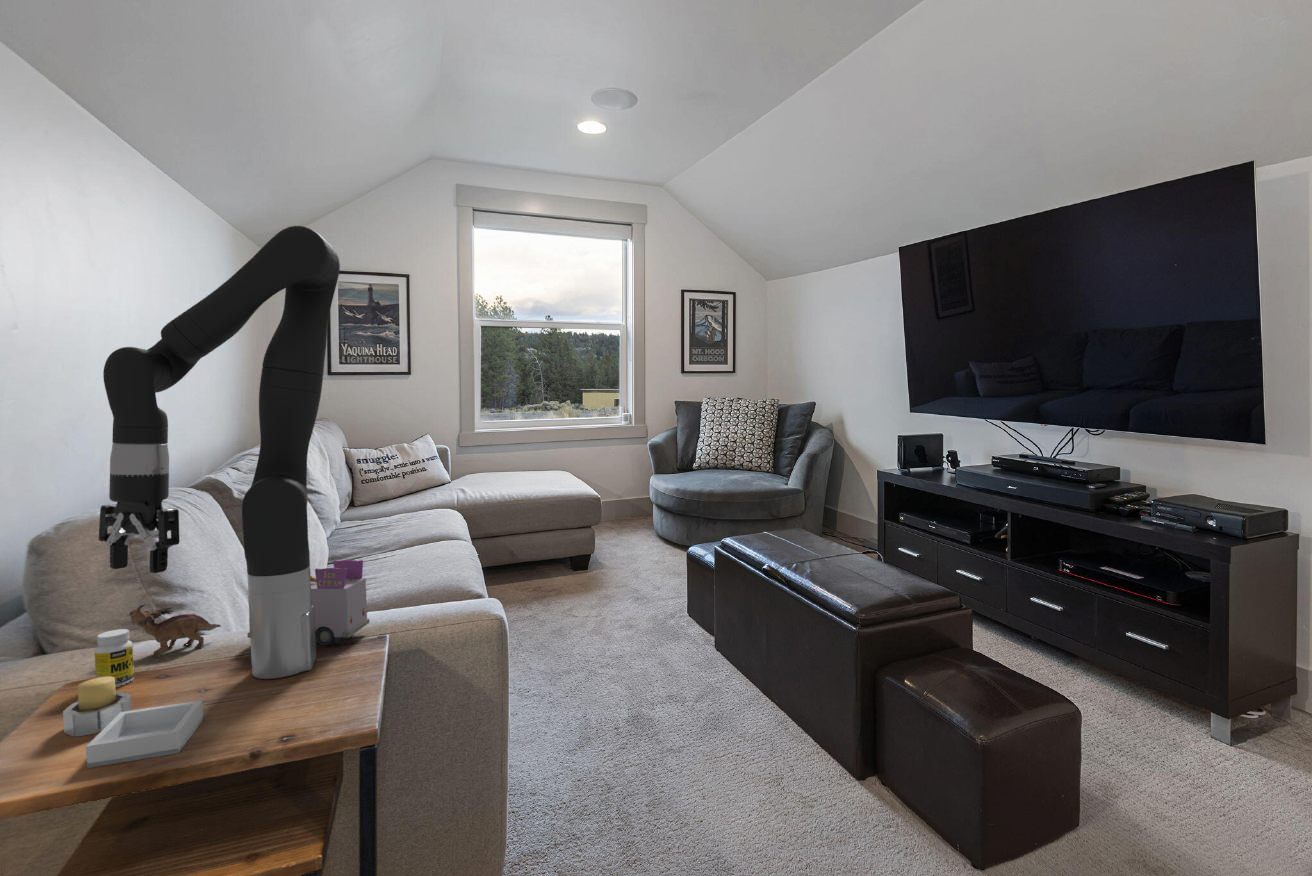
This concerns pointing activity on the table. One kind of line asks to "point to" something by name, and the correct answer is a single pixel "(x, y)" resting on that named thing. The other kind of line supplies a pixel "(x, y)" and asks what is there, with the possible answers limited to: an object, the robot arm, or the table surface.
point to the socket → (94, 716)
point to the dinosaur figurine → (171, 627)
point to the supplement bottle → (115, 656)
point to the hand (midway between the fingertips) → (138, 570)
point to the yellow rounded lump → (96, 693)
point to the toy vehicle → (338, 601)
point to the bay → (145, 734)
